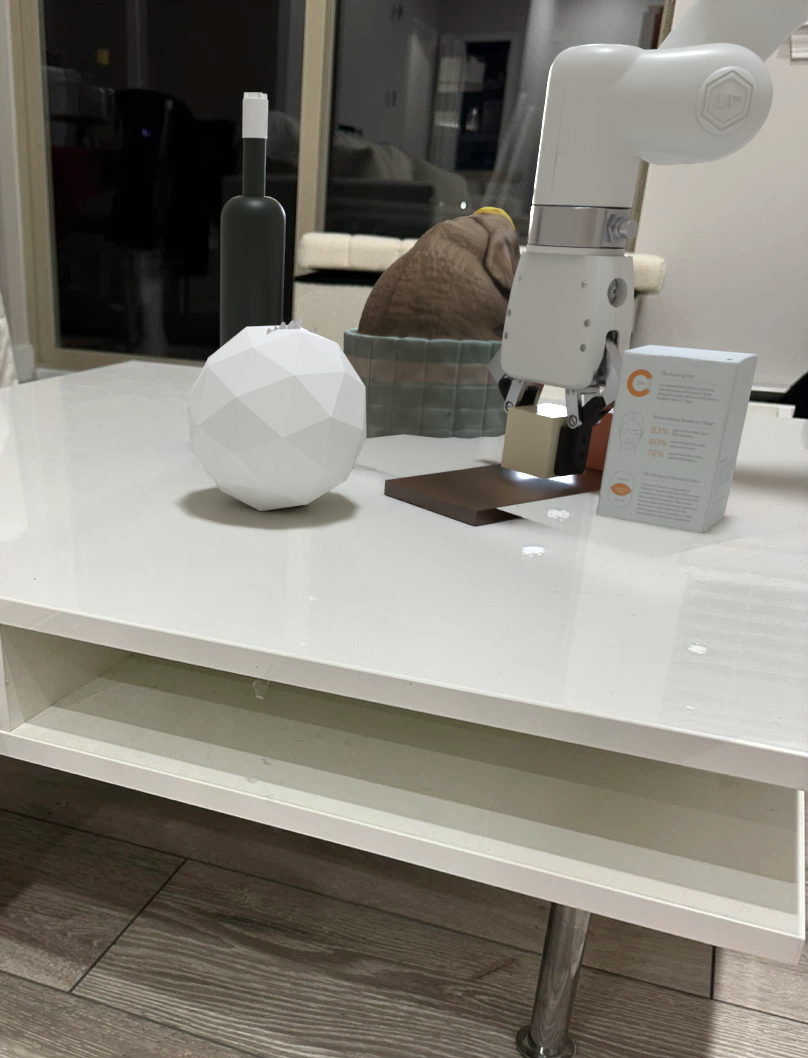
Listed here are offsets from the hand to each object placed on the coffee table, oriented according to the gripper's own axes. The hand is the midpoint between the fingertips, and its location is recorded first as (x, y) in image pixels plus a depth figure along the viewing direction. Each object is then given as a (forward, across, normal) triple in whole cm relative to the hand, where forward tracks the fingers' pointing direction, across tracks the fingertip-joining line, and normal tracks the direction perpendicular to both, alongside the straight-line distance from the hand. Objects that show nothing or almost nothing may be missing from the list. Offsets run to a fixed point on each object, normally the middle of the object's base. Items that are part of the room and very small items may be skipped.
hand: (543, 465), depth 90 cm
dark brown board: (+2, 0, 0) cm, 2 cm away
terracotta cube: (+1, 0, -9) cm, 9 cm away
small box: (+2, -13, +1) cm, 13 cm away
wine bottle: (+3, +25, +14) cm, 29 cm away
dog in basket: (+2, +26, -12) cm, 29 cm away
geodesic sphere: (+3, +7, +23) cm, 24 cm away
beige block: (0, 0, 0) cm, 0 cm away
